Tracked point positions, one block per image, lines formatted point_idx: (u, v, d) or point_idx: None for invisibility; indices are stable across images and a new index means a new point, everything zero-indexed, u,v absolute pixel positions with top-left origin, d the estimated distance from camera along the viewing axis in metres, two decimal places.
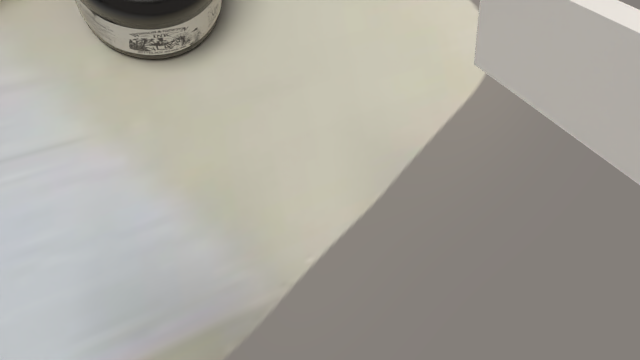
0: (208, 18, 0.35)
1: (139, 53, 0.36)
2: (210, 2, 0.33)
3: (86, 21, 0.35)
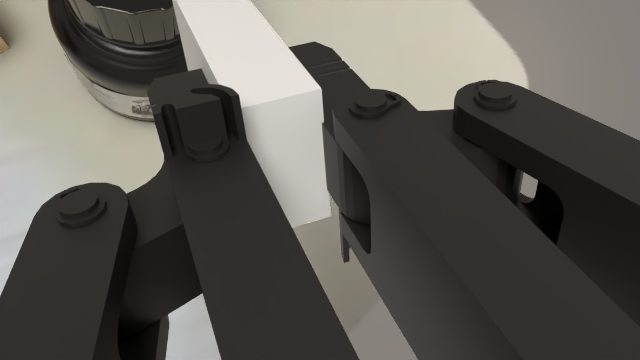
0: None
1: (143, 117, 0.32)
2: None
3: (83, 84, 0.32)
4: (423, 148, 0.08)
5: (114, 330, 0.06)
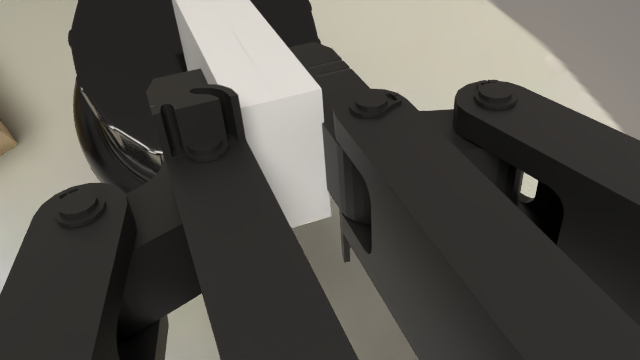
0: None
1: None
2: None
3: None
4: (424, 148, 0.08)
5: (114, 330, 0.06)
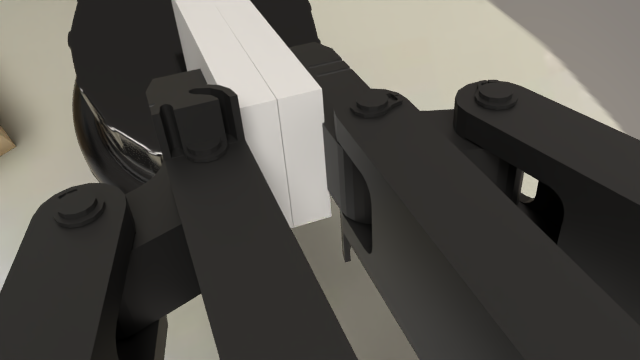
0: None
1: None
2: None
3: None
4: (425, 148, 0.08)
5: (112, 330, 0.06)
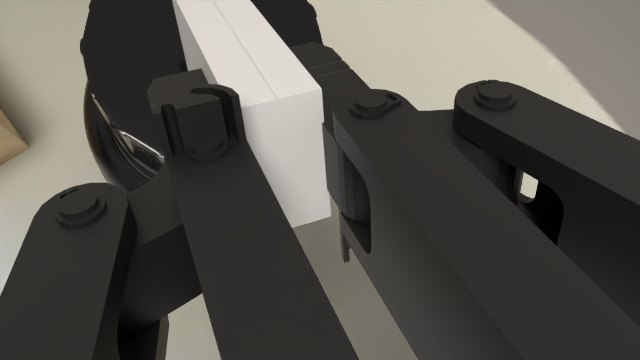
0: None
1: None
2: None
3: None
4: (424, 148, 0.08)
5: (114, 330, 0.06)
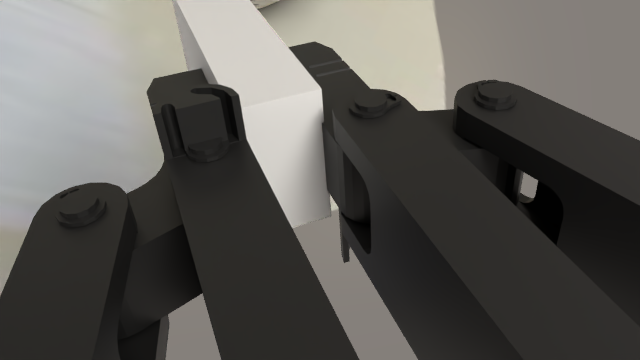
0: (271, 3, 0.38)
1: None
2: None
3: None
4: (424, 148, 0.08)
5: (114, 330, 0.06)
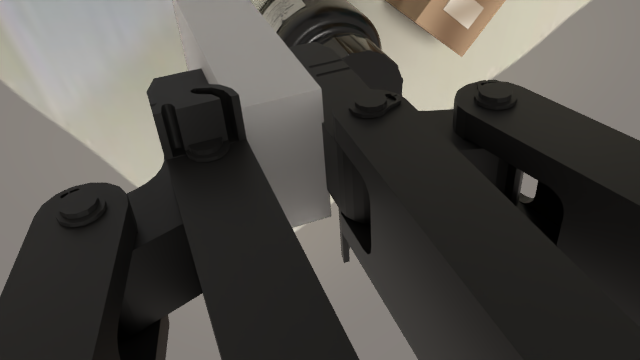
0: None
1: None
2: None
3: None
4: (424, 148, 0.08)
5: (114, 330, 0.06)
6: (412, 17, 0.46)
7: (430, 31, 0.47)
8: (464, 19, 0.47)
